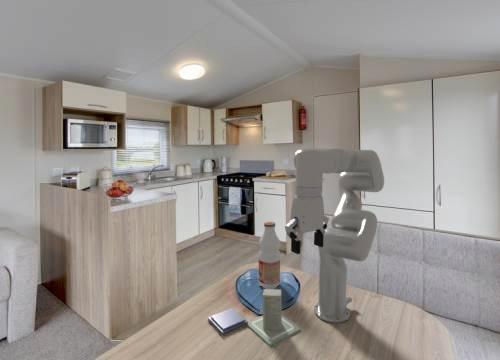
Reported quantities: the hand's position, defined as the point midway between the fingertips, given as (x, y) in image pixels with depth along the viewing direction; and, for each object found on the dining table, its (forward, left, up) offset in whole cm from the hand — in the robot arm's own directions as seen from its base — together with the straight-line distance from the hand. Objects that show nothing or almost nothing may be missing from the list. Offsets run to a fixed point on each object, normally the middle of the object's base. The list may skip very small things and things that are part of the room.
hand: (307, 249), depth 84 cm
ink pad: (+14, -23, -30) cm, 41 cm away
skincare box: (+3, -12, -30) cm, 32 cm away
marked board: (+3, -12, -30) cm, 33 cm away
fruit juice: (-15, -36, -31) cm, 50 cm away
